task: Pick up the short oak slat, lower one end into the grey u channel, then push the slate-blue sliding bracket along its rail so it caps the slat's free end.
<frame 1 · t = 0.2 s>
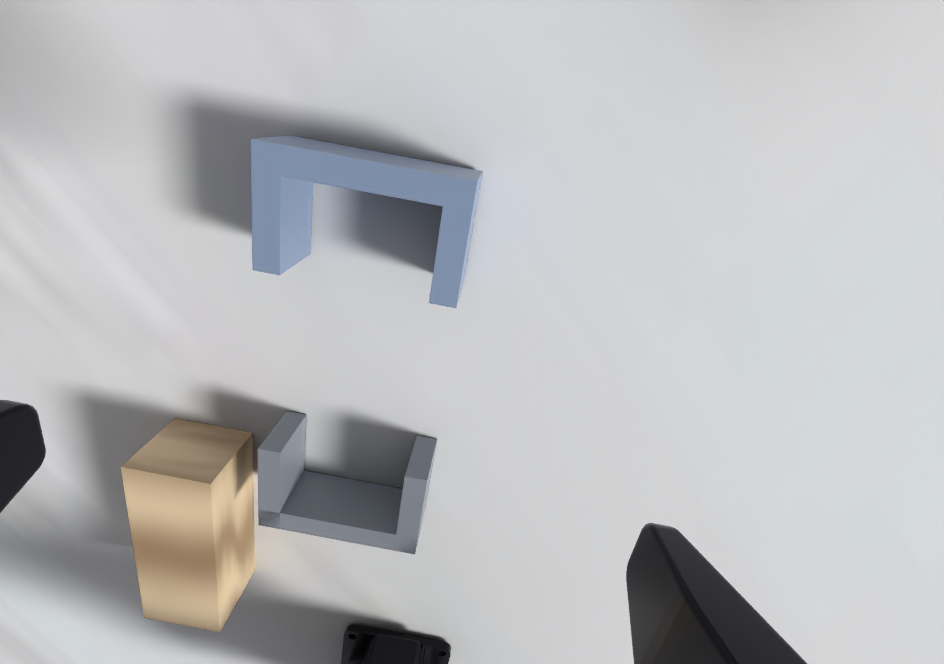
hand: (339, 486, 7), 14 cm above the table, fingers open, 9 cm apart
slat: (220, 497, 27), on the table
grey u channel: (358, 461, 25), on the table
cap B: (370, 219, 18), point 2 cm above the table, slide at 0.0 cm
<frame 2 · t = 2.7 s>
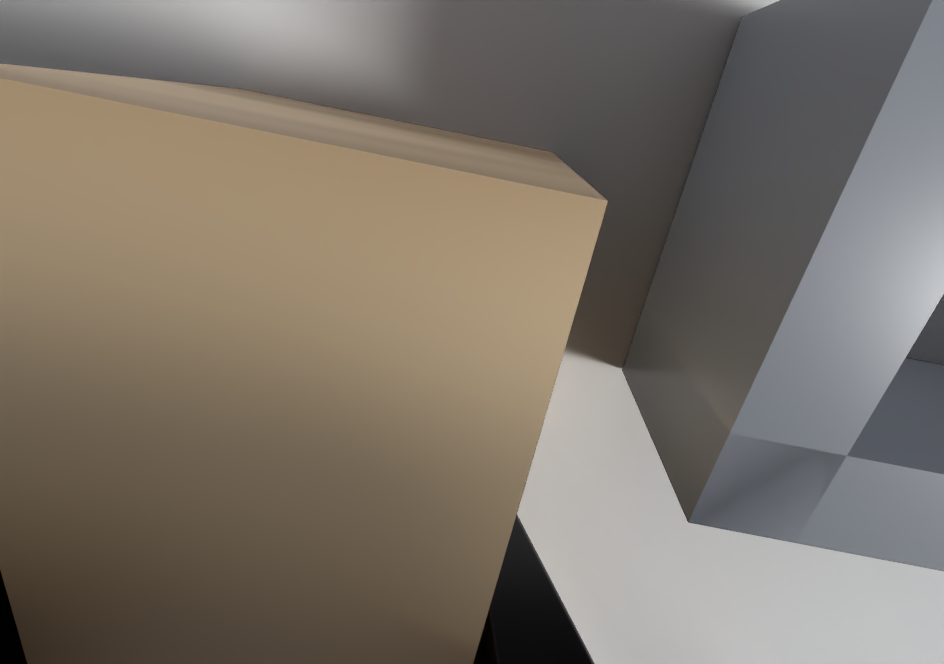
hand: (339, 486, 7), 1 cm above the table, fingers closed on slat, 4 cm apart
slat: (360, 441, 8), on the table, touching gripper
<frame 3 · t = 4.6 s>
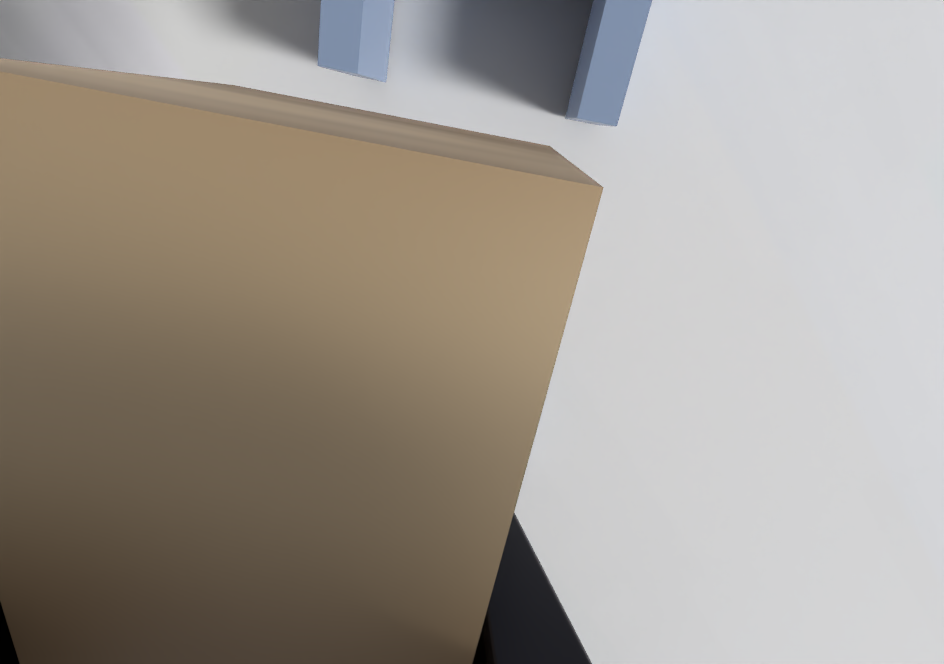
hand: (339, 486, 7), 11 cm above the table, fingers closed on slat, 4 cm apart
slat: (359, 441, 8), point 10 cm above the table, touching gripper
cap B: (487, 2, 13), point 2 cm above the table, slide at 0.0 cm
when the fingers open (2 cm above the table, at t = 6.4 s): slat drops 2 cm, on the table.
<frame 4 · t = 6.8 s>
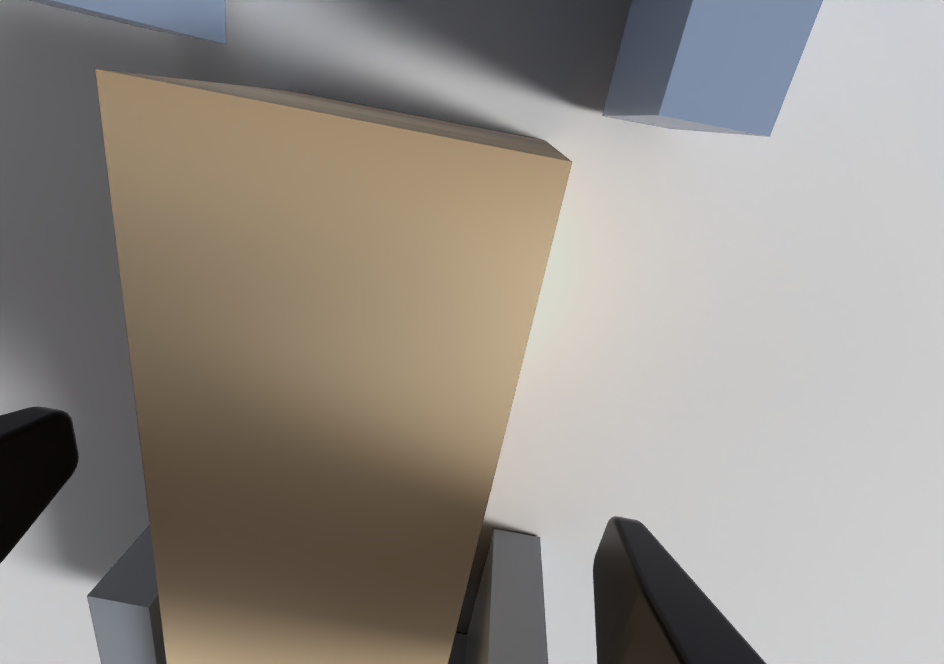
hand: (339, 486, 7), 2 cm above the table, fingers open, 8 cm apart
slat: (385, 388, 10), on the table
grey u channel: (360, 577, 12), on the table
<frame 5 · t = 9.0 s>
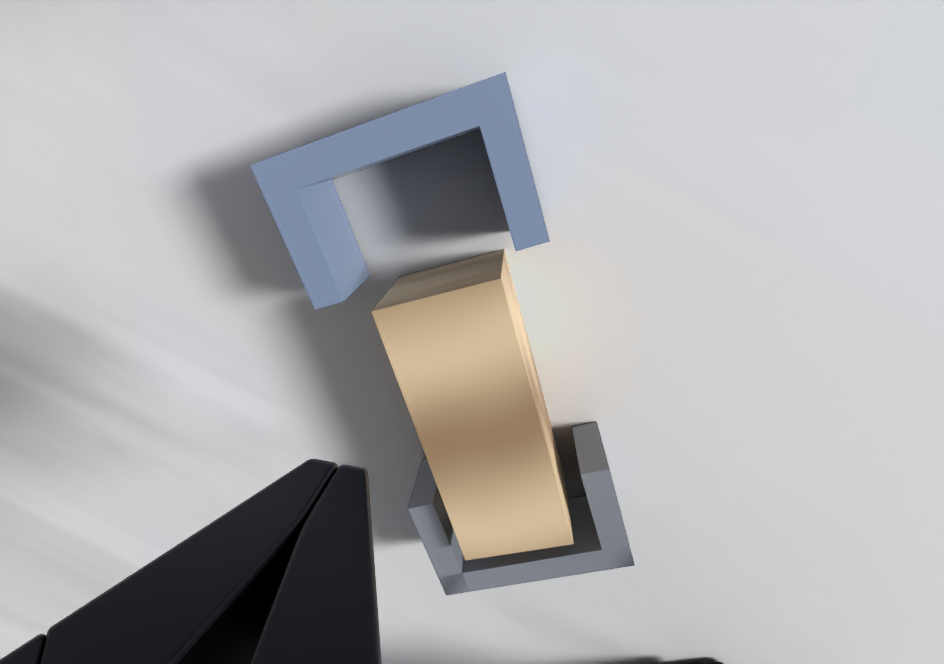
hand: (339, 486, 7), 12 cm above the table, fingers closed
slat: (487, 380, 20), on the table
grey u channel: (520, 484, 21), on the table
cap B: (410, 196, 15), point 2 cm above the table, slide at 0.0 cm
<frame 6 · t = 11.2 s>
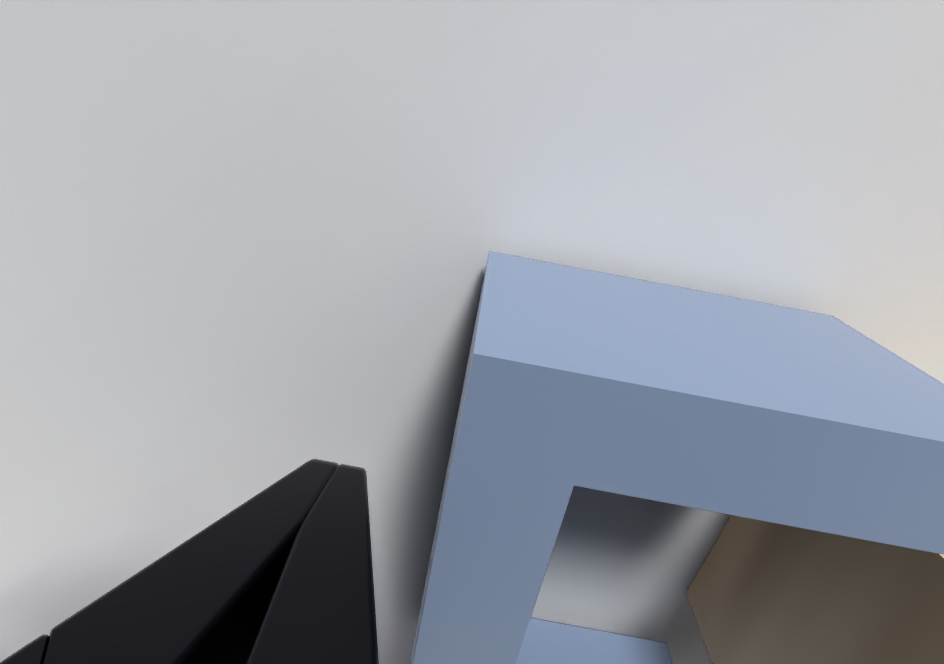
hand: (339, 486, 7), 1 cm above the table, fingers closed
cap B: (600, 587, 6), point 2 cm above the table, slide at 0.3 cm, touching gripper
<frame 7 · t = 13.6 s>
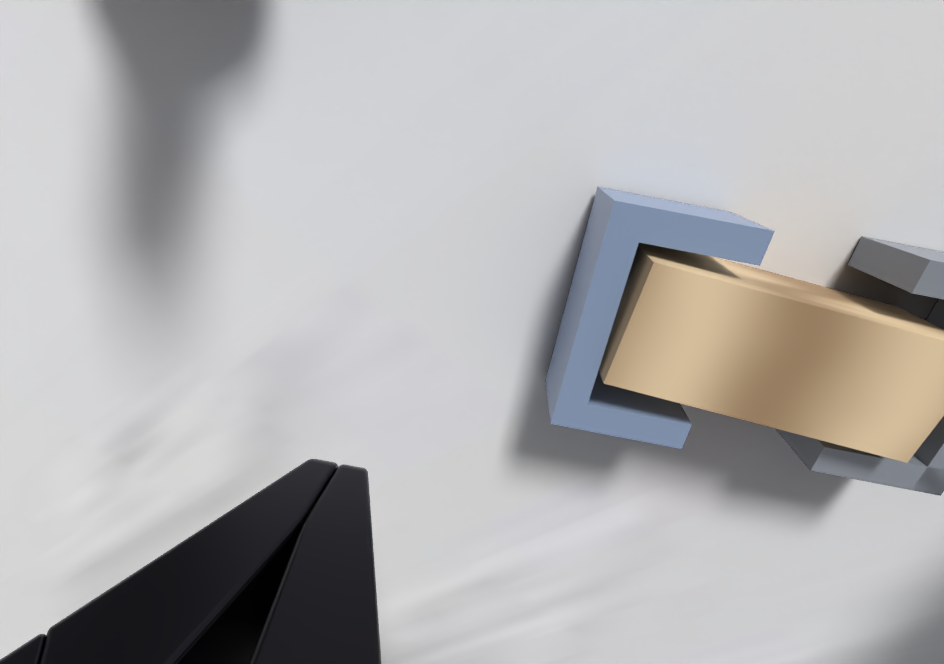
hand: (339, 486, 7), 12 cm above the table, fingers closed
slat: (734, 318, 18), on the table
grey u channel: (872, 348, 18), on the table
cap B: (640, 318, 17), point 2 cm above the table, slide at 3.7 cm
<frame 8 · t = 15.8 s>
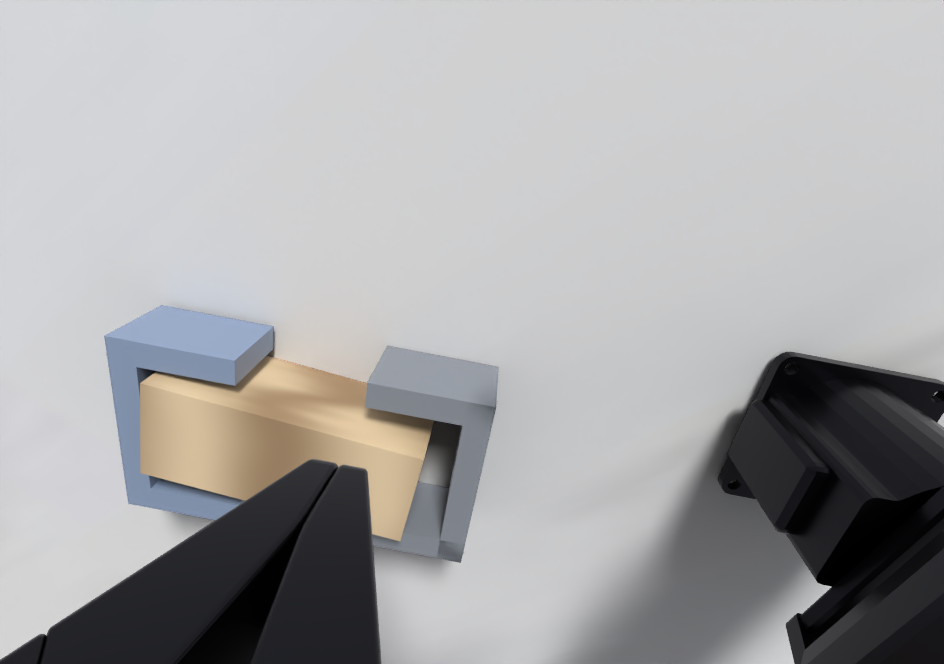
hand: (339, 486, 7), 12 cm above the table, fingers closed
slat: (317, 407, 22), on the table
grey u channel: (430, 433, 21), on the table
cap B: (200, 415, 20), point 2 cm above the table, slide at 3.7 cm
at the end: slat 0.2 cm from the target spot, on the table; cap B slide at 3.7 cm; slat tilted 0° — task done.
